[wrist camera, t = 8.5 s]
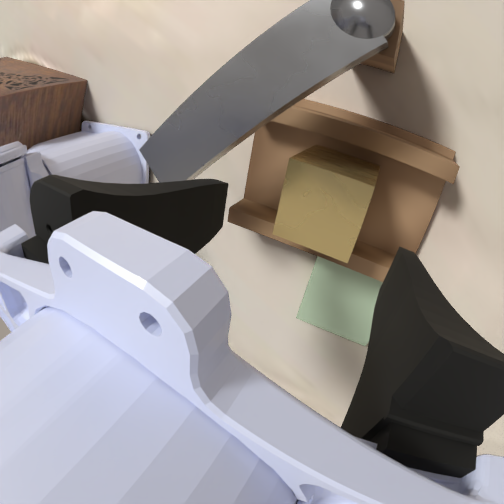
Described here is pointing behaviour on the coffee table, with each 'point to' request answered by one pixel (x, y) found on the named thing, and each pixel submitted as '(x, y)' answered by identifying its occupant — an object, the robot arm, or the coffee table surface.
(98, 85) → the coffee table surface
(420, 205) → the body
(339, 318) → the pad
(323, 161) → the tan cube
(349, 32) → the lever
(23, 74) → the tissue box cover
